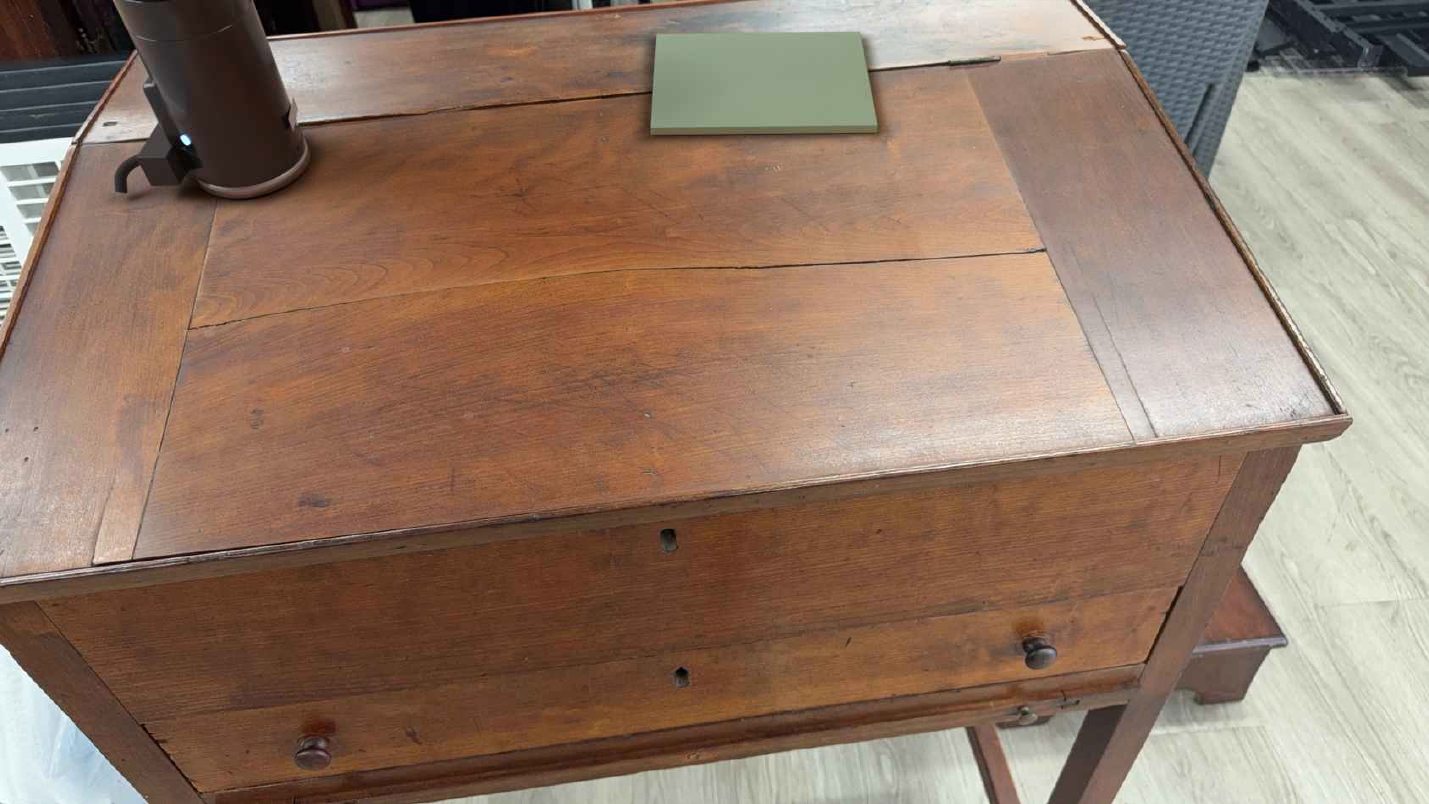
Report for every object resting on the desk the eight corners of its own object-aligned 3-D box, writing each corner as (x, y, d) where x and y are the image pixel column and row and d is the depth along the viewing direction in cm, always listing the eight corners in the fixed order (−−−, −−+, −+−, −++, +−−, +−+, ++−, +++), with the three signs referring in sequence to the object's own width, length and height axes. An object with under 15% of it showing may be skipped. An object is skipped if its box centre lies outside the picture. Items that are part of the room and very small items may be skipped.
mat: (650, 135, 91) (650, 127, 90) (656, 41, 101) (656, 33, 101) (876, 132, 90) (877, 125, 90) (859, 38, 101) (860, 31, 100)
